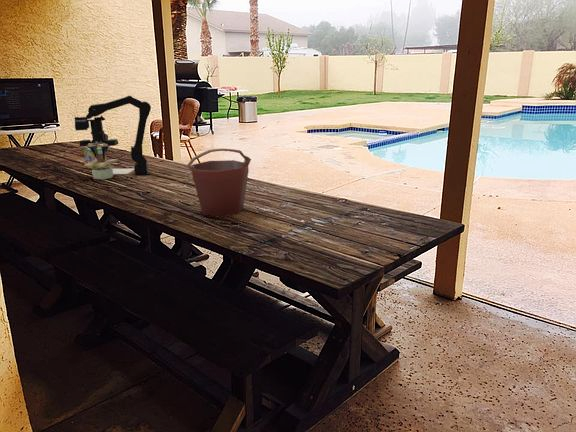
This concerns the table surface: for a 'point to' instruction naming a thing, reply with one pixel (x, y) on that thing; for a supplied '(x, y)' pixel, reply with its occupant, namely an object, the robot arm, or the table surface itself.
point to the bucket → (220, 184)
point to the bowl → (102, 172)
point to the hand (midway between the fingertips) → (101, 159)
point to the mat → (122, 171)
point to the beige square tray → (101, 161)
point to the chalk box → (92, 156)
